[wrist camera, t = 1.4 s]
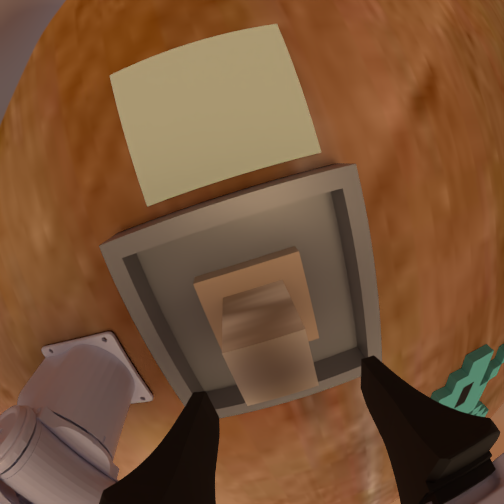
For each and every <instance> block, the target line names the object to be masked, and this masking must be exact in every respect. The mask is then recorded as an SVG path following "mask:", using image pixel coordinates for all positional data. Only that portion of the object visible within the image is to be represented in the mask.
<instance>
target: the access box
mask: <svg viewBox="0 0 504 504" xmlns="http://www.w3.org/2000/svg"><path fill="white" fill-rule="evenodd" d="M99 247H100V250H101V252H102V255H103V257H104V259H105V262H106V264H107V267H108V269H109V271H110V273H111V276H112V278H113V280H114V282H115V284H116V287H117V289H118V291H119V293H120V295H121V297H122V299H123V301H124V303H125V305H126V307H127V309H128V311H129V313H130V315H131V317H132V319H133V321H134V323H135V325H136V327H137V329H138V331H139V332H140V334H141V336H142V338H143V340H144V341H145V343H146V345H147V347H148V349H149V350H150V352H151V354H152V355H153V357H154V359H155V361H156V362H157V364H158V366H159V367H160V369H161V371H162V372H163V374H164V375H165V377H166V379H167V380H168V382H169V383H170V385H171V386H172V388H173V390H174V391H175V393H176V394H177V396H178V397H179V399H180V400H181V402H182V403H183V405H184V406H186V404H187V402H188V400H189V399H190V397H191V395H192V394H193V392H202V391H206V393H207V395H208V397H209V399H210V401H211V402H212V404H213V406H214V408H215V410H216V412H217V414H218V416H219V418H224V417H229V416H233V415H238V414H243V413H247V412H251V411H255V410H259V409H263V408H267V407H271V406H275V405H278V404H282V403H285V402H289V401H292V400H296V399H299V398H302V397H305V396H308V395H311V394H314V393H317V392H320V391H323V390H326V389H329V388H332V387H334V386H337V385H340V384H343V383H345V382H348V381H350V380H353V379H355V378H358V377H360V376H361V359H363V358H367V357H370V356H373V355H374V356H375V357H377V358H378V359H379V360H380V361H381V362H382V347H381V327H380V313H379V301H378V290H377V281H376V272H375V264H374V257H373V250H372V243H371V237H370V231H369V225H368V219H367V214H366V209H365V203H364V198H363V194H362V189H361V184H360V180H359V175H358V171H357V167H356V164H332V165H328V166H324V167H321V168H317V169H313V170H309V171H305V172H302V173H298V174H294V175H291V176H287V177H283V178H280V179H276V180H273V181H269V182H266V183H263V184H259V185H256V186H253V187H249V188H246V189H243V190H240V191H236V192H233V193H230V194H227V195H224V196H221V197H217V198H214V199H211V200H208V201H205V202H202V203H199V204H196V205H193V206H190V207H188V208H185V209H182V210H179V211H176V212H173V213H170V214H168V215H165V216H162V217H159V218H157V219H154V220H151V221H148V222H146V223H143V224H140V225H138V226H135V227H133V228H130V229H127V230H125V231H122V232H120V233H117V234H116V235H114V236H113V237H111V238H110V239H108V240H107V241H105V242H104V243H102V244H101V245H99ZM279 280H283V282H284V284H285V287H286V289H287V291H288V293H289V295H290V297H291V299H292V301H293V304H294V306H295V308H296V310H297V312H298V314H299V316H300V319H301V321H302V323H303V325H304V327H305V330H306V334H307V338H308V342H309V346H310V350H311V355H312V359H313V363H314V367H315V371H316V376H317V380H318V384H319V385H318V386H316V387H313V388H310V389H306V390H303V391H300V392H297V393H294V394H290V395H287V396H284V397H280V398H277V399H273V400H269V401H265V402H262V403H258V404H254V405H250V406H247V404H246V402H245V400H244V398H243V396H242V394H241V392H240V390H239V388H238V386H237V384H236V382H235V380H234V378H233V376H232V374H231V372H230V370H229V368H228V365H227V363H226V361H225V359H224V357H223V355H222V314H223V297H227V296H230V295H233V294H237V293H240V292H243V291H247V290H250V289H253V288H256V287H260V286H263V285H266V284H269V283H272V282H276V281H279Z"/></svg>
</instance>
